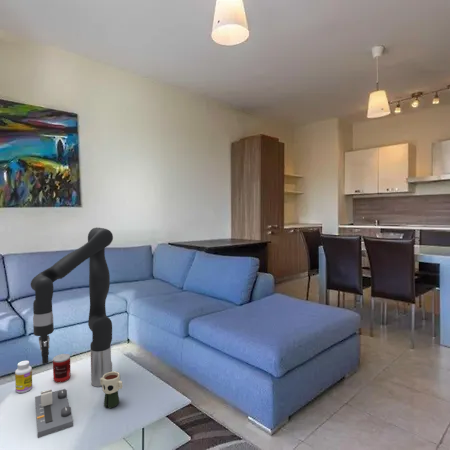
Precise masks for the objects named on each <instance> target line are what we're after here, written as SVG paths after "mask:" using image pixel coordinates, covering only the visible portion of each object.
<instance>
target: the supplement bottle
mask: <svg viewBox="0 0 450 450" xmlns="http://www.w3.org/2000/svg"><path fill="white" fill-rule="evenodd" d="M14 376H15V381H14V382H15V383H14V384H15V392H16V393H18V394H22V393H23V394H24V393H26V392H29V391H31V389H33V368H32V366H31V365H30V361H29V360H22V361H19V362H18V363H17V369H15V371H14Z"/></svg>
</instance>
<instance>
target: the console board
mask: <svg viewBox="0 0 450 450" xmlns="http://www.w3.org/2000/svg"><path fill="white" fill-rule="evenodd" d="M67 391H68V390H66V388H63V389H59V390H54V391H52V404H50V405H47V406H43V407H42V406H41V394H40V395H37V396H35V397H34V401H35V404H34V405H35V415H36V417H35V418H36V428H37V429H36V430H37V438H41V437H43V436H48V435H50V434H53V433H57V432H59V431H63V430H65V429H68V428H72V427H74V419H73V415H72V407H71V406H70V402H69V398H68V392H67Z"/></svg>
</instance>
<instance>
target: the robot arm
mask: <svg viewBox="0 0 450 450" xmlns="http://www.w3.org/2000/svg"><path fill="white" fill-rule="evenodd" d="M113 239H114V236H113V233H112V232H111V230H110V229H107V228H103V227H94V228H92V229H91V230H90V231H89V232H88V235H87V242H86V243H84V245H82V246H80V247H79V248H77V249H75V250H73V251H71V252H69V253H68V254H66V255H65V256H63V257H61V258H60V259H59V260H58V261H57V262H55V263H54V264H53V265H52V266H50V267H48V268H46V269H44V270H42V271H41V272H39V273H38V274H37V275H35V276H34V277H33V278H32V279H31V281H30V287H31V289H32V290H33V291H34V293H35V297H34V300H33V303H32V304H33V305H32V307H33V308H32V309H33V310H32V311H33V313H32V314H33V317H32V324H33V325H32V327H33V335H34V336H36V337H38V345H39V350H40V351H41V353H40V354H41V359H42V360H41V362H42V365H45V364H48V363H49V355H50V351H49V349H50V335H51V334H52V333H54V327H55V326H54V313H53V297H54V282H55V281H57V280H62V279H63V278H65V277H66V276H67V275H69V274H70V273H71V272H72V271H73V270H75V269H76V268H77V267H78V266H80V265H81V264H82V263H84V262H85V261H86V260H88V259H89V262H88V264H89V271H88V272H89V273H88V286H89V287H88V288H89V290H88V291H89V313H88V324H87V325H88V328H89V329H90V331H91V332H92V333H91V334H92V340H91V342H90V373H91V374H90V376H91V377H90V381H91V382H90V383H91V385H92V386H94V387H97V388H98V387H102V385H101V384H100V379H101V378H103V375H104V374H106V373H108V372H113V362H112V341H113V323H112V319H111V318H110V317H108V316H107V309H106V301H107V297H108V295H109V290H110V285H111V283H110V282H111V281H110V280H111V279H110V276H111V275H110V270H109V266H108V263H107V259H106V256H105V254H106V253H105V252H106V251H105V250H106V248H107V247H109V246H110V245H111V244H112V242H113Z"/></svg>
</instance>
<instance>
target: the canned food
mask: <svg viewBox="0 0 450 450" xmlns="http://www.w3.org/2000/svg"><path fill="white" fill-rule="evenodd" d="M52 371H53V373H52V374H53V375H52V376H53V381H54V383H59V384H61V383H64V382H67V381H68V380H70V378H71V374H72V373H71V372H72V371H71V355H70V354H68V353H60V354H57V355H55V356H54V357H53V358H52Z"/></svg>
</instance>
